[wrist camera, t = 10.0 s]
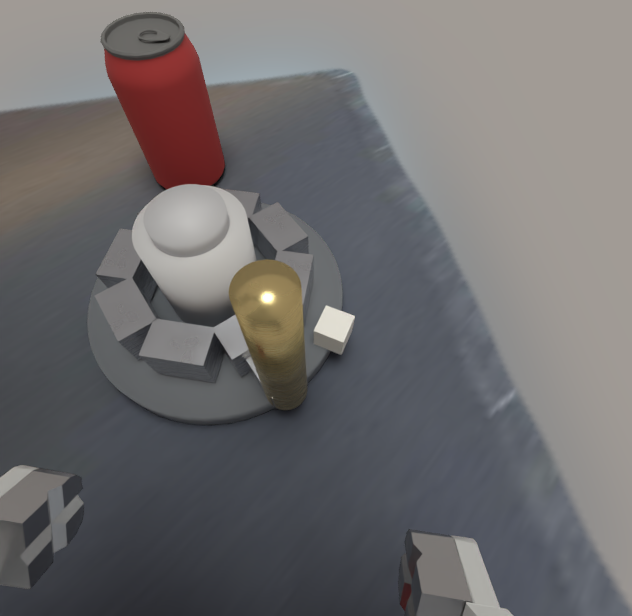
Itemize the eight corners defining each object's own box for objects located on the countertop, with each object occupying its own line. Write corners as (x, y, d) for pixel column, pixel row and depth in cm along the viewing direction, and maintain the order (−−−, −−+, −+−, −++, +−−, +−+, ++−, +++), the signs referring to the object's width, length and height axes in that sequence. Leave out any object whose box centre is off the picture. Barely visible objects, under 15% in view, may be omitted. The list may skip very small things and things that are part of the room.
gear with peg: (91, 271, 28) (-34, 128, 18) (249, 193, 32) (218, 39, 22) (198, 475, 22) (96, 430, 11) (382, 347, 26) (427, 227, 15)
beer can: (210, 203, 35) (165, 65, 24) (143, 190, 36) (72, 50, 25) (236, 155, 38) (206, 14, 28) (174, 143, 39) (122, 2, 28)
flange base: (51, 389, 26) (-78, 322, 18) (163, 200, 35) (113, 92, 26) (324, 459, 24) (329, 422, 16) (372, 239, 33) (393, 136, 24)
